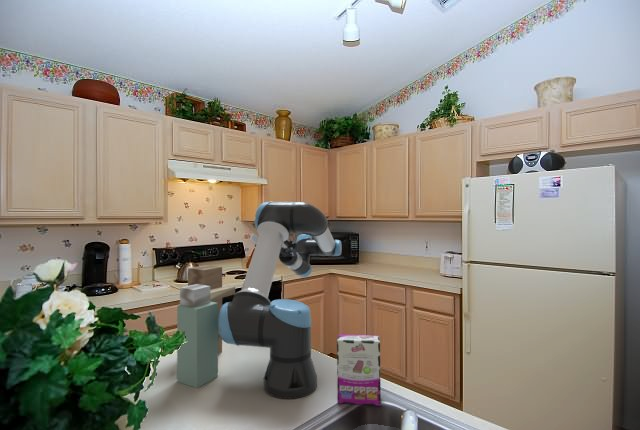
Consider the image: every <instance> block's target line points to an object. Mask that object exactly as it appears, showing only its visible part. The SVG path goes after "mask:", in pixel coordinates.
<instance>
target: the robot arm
mask: <svg viewBox="0 0 640 430" xmlns="http://www.w3.org/2000/svg"><path fill="white" fill-rule="evenodd" d="M254 215H255V216H254V217H255V218H254V226H255V229H256V231H257V234H258V235H259V236H257V235H256V234H255V233H254V232H253V233H251V234H250V237H249V240H250V241H251V242H253V243H254V249H253V250H254V251H253V253H252V257H251V260H250V263H249V265H248V269H247V272H246V275H245V278H244V280H243V283H242V287H241V290H239V291H237V292H235V294H234V295H233V297H232V299H231V300H232V301H229V302H225V303H224V304H223V303H222V307H221V309H220V313H219V319H218V327H219V333H220V336H221V338H222V342H224V343H226V344H229V345H235V346H237V347H238V346H239V347H240V346H244V347H245V346H247V347H249V346H250V347H259V348H268V349H269V360H268V364H267V367H266V370H265V373H264V377H263V389H264V391H265V392H266V393H267V394H268V395H270V396H272V397H275V398H279V399H286V400H287V399H289V400H290V399H296V398H297V399H299V398H302V397H305V396H307V395H310V394H311V393H313V392H314V391H315V390H316V388H317V386H318V375H317V372H316V369H315V366H314V362H313V358H312V324H313V323H312V317H311V308H310V307H309V306H308V305H307V304H305V303H303V302H301V301H298V300H295V299H287V298H284V299H283V298H281V299H280V298H278V299H274V300H272V301H271V300H270V299H269V295H270V294H269V293H270V290H271V287H272V285H273V284H272V283H273V279H274V275H275V272H276V268H277V265H278V262H279V261H280V262H281V264H283V265H285V266H286V267H287V268H288V269H289V270H291V271H292V272H293V273H294V274H295V275H297V276H299V277H301V278H307V277H309V276H310V275H311V274H312V272H313V267H312V265H311V263H310V261H311V259H310V258H311V256H322V257H325V256H328V257H338V256H341V255H342V250H343V249H342V247H343V246H342V241H341V240H339V239H334V237H333V235H332V233H331V231H330V228H329V221H328V218H327V216H326V214H324V213H323V211H322V210H320V209H319V208H317V207H316V206H314V205H313V204H310V203H308V202H306V201H305V202H304V201H267V202H266V201H264V202H262V203H260V205H259V206H258V207H257V209H256V211H255V214H254ZM290 234H299V235H298V236H297V238H296V242H295V243H293V240H288V239H289V237H290Z"/></svg>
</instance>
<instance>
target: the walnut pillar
mask: <svg viewBox="0 0 640 430" xmlns="http://www.w3.org/2000/svg"><path fill="white" fill-rule="evenodd" d="M195 284H200V285H206V286H210V290H213V289H217V288H221V287H223V266H219V265H218V266H217V265H200V266H193V267H188V268H187V286H190V285H195ZM210 302H216V303H218V319H219V313H220V309H221V307H222V305H223V298H220V299H216V300H213V301H210ZM222 352H223V340H222V338H221V336H220V333H219V327H218V355H219V354H221V353H222Z"/></svg>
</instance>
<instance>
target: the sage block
mask: <svg viewBox="0 0 640 430" xmlns="http://www.w3.org/2000/svg"><path fill="white" fill-rule="evenodd" d="M176 308H177V310H176V314H177V315H176V317H177V318H176V319H177V320H176V323H177V324H176V326H177V327H176V328H177V330H176V331H178V330H180V331H185V336H186V340H187V341H188V342H187V343H184V344H182V345H181V347H180V349H179V350H177V349H176V353H177V355H176V356H177V357H176V363H177V364H176V365H177V366H176V367H177V370H176V372H177V373H176V375H177V377H176V378H177V379H176V382H178V383H181V384H183V385H186V386H190V387H192V388H194V389H195V388H196V389H198V388H200V387H201V386H203V385H205V384H207V383H208V382H210V381H212V380H214V379H216V378H217V377H219V354H218V303H216V302H210V303H208V304H204V305H201V306H198V307H189V306H184V305H180V304H178V305H176Z"/></svg>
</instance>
